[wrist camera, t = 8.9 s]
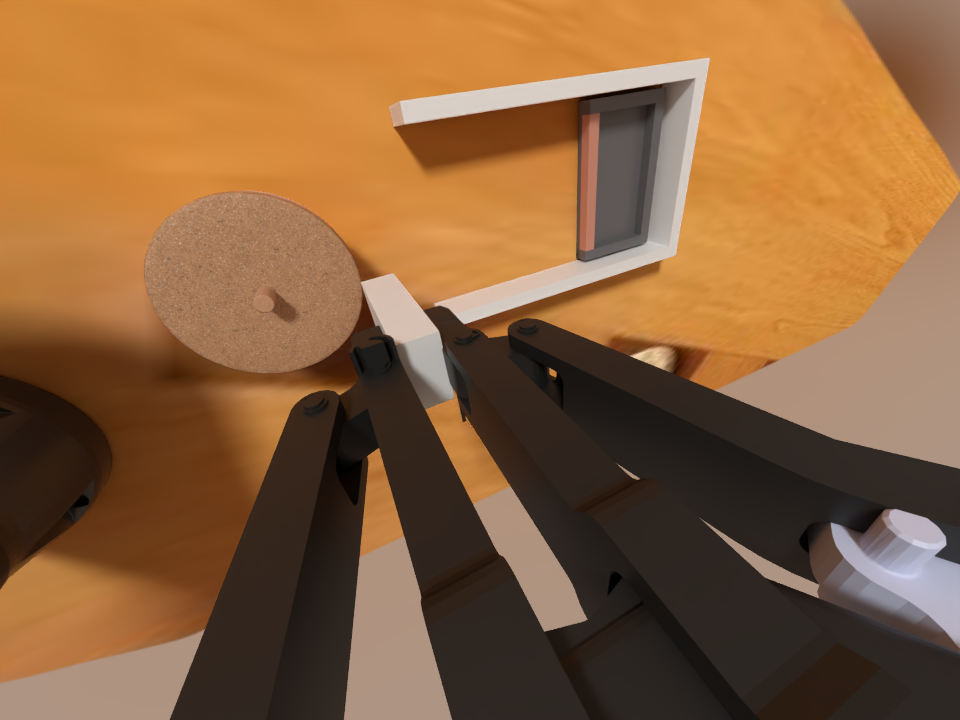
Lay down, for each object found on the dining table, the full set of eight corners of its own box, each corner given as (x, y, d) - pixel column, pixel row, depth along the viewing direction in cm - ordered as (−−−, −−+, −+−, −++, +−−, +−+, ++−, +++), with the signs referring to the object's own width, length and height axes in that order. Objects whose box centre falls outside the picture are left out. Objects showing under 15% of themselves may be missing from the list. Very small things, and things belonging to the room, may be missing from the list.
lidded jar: (373, 236, 29) (399, 266, 21) (315, 345, 31) (319, 407, 23) (217, 144, 22) (176, 141, 15) (159, 290, 25) (98, 350, 17)
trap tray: (576, 257, 37) (585, 261, 36) (578, 101, 30) (590, 99, 29) (636, 239, 39) (646, 242, 38) (653, 89, 32) (666, 87, 31)
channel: (436, 314, 34) (448, 329, 31) (388, 106, 25) (399, 101, 22) (650, 248, 41) (675, 255, 38) (674, 65, 32) (709, 57, 29)
